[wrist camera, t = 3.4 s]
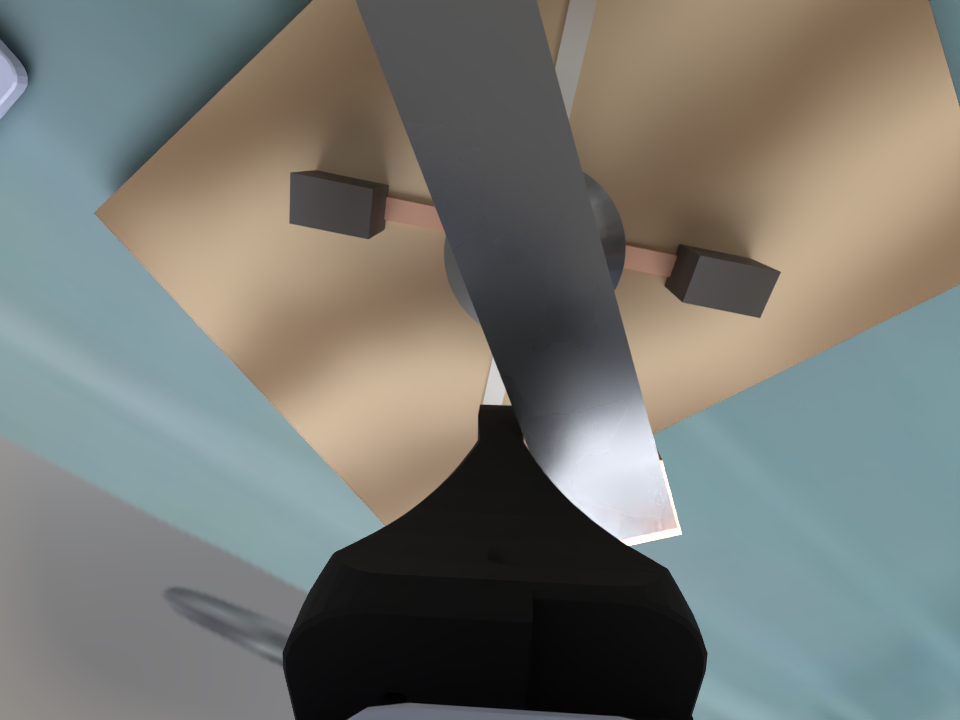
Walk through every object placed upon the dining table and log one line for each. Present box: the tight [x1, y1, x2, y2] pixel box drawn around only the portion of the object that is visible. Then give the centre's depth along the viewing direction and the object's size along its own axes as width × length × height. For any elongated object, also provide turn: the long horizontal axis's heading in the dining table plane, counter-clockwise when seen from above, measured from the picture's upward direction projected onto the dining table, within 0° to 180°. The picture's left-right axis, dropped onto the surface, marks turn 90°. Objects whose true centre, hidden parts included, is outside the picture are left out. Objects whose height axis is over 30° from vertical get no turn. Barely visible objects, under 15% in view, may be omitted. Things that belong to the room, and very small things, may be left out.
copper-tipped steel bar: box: [355, 0, 682, 546], centre depth 10 cm, size 12×4×4 cm, turn 20°
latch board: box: [94, 0, 960, 526], centre depth 13 cm, size 15×20×3 cm
